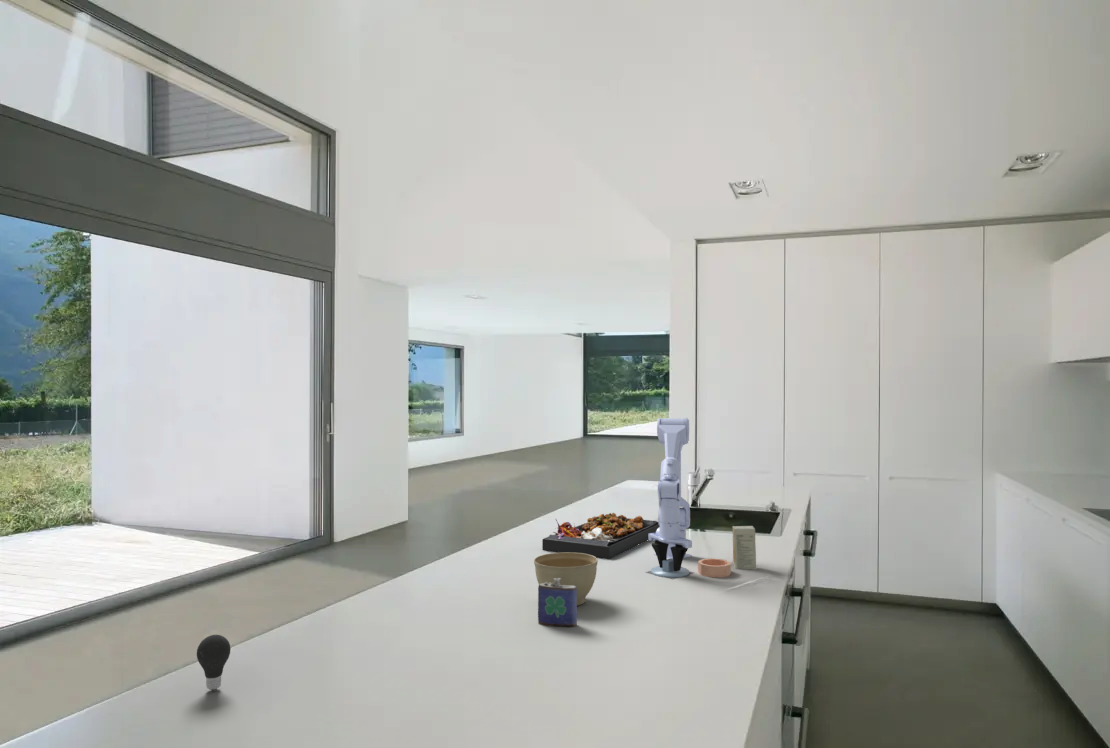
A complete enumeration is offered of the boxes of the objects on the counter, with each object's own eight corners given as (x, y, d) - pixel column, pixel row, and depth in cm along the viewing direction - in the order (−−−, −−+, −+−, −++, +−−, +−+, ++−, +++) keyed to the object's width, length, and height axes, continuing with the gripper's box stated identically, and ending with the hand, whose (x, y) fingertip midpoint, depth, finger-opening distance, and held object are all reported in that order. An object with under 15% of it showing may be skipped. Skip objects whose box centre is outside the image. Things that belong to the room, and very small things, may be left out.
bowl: (692, 574, 211) (692, 562, 211) (710, 568, 217) (710, 556, 217) (718, 580, 204) (718, 568, 204) (736, 574, 210) (736, 562, 210)
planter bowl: (607, 597, 189) (606, 555, 189) (583, 615, 174) (582, 569, 174) (550, 589, 196) (550, 549, 196) (523, 607, 181) (522, 563, 181)
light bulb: (203, 684, 136) (203, 630, 136) (235, 683, 136) (235, 629, 136) (191, 697, 130) (191, 641, 130) (224, 696, 131) (223, 640, 131)
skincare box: (754, 566, 219) (753, 525, 219) (756, 570, 214) (756, 528, 215) (732, 566, 219) (731, 525, 219) (734, 569, 215) (734, 528, 215)
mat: (645, 573, 211) (645, 572, 211) (667, 567, 218) (667, 566, 218) (672, 580, 204) (672, 579, 204) (694, 574, 211) (694, 572, 211)
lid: (642, 572, 211) (642, 559, 212) (667, 565, 219) (667, 553, 219) (672, 579, 203) (672, 567, 203) (697, 572, 211) (697, 560, 211)
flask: (578, 624, 168) (577, 577, 168) (574, 628, 165) (574, 581, 166) (539, 620, 171) (539, 575, 171) (536, 625, 168) (535, 578, 168)
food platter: (609, 561, 229) (609, 528, 229) (542, 552, 241) (542, 521, 241) (664, 534, 267) (663, 506, 268) (603, 527, 280) (603, 500, 280)
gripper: (641, 520, 214) (641, 566, 214) (680, 527, 203) (681, 576, 203) (657, 517, 219) (657, 562, 219) (696, 524, 208) (696, 571, 208)
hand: (669, 568), depth 211 cm, fingers open, 5 cm apart
